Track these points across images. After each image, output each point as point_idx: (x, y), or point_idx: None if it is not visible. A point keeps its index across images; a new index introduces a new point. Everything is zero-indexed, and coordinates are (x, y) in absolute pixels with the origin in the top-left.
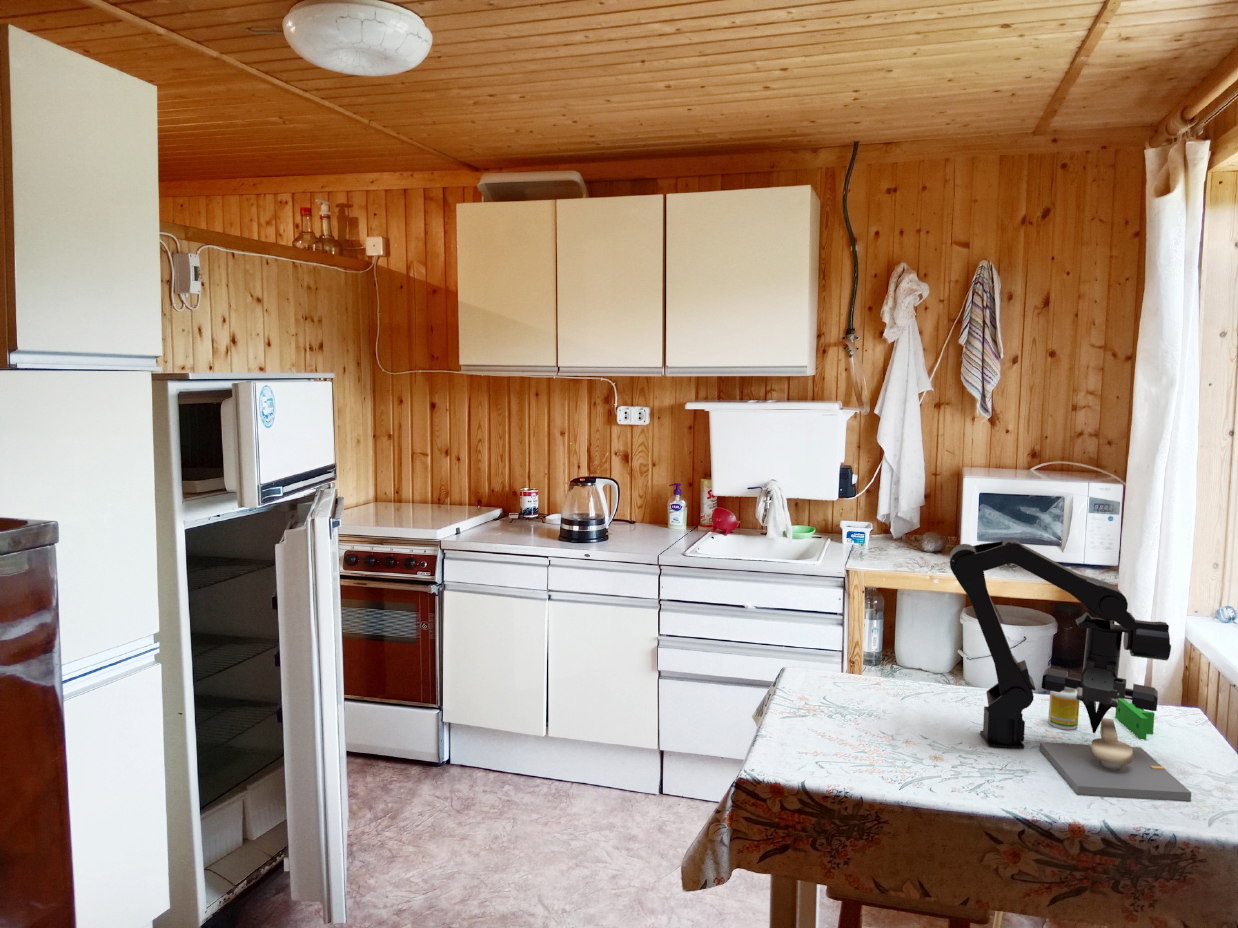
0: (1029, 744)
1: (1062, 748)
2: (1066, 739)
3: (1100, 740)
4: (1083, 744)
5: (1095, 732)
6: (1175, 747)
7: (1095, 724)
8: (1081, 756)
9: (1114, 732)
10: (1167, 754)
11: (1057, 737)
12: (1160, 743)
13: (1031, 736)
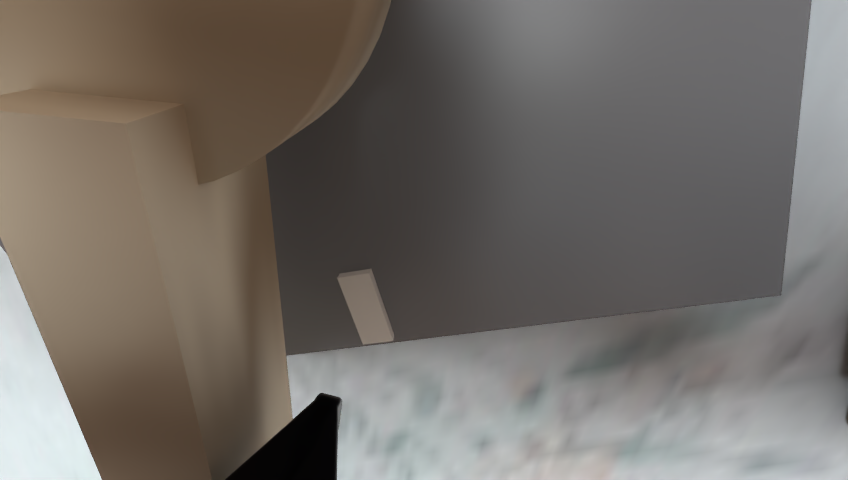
0: (786, 326)
1: (615, 214)
2: (498, 438)
3: (238, 83)
4: (425, 332)
5: (316, 398)
6: (21, 450)
7: (287, 463)
8: (482, 80)
9: (45, 279)
10: (26, 379)
11: (545, 451)
12: (81, 473)
13: (711, 437)
